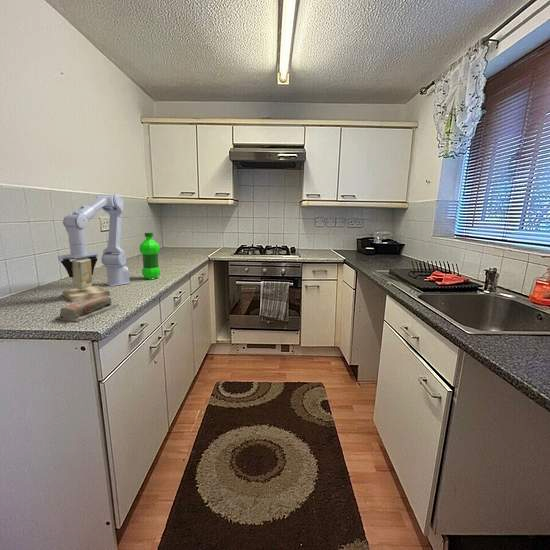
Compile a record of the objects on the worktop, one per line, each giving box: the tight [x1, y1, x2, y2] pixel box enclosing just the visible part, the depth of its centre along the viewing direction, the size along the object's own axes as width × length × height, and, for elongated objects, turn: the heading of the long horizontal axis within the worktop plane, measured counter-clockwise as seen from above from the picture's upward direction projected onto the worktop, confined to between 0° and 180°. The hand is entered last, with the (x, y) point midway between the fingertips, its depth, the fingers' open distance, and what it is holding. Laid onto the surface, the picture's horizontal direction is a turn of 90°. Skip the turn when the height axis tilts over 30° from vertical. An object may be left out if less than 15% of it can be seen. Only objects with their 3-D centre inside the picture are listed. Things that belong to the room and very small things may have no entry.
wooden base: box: [62, 285, 110, 303], centre depth 128 cm, size 14×14×2 cm
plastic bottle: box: [139, 232, 162, 280], centre depth 161 cm, size 10×10×25 cm
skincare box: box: [71, 258, 93, 290], centre depth 125 cm, size 6×4×12 cm
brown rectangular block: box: [54, 296, 120, 323], centre depth 106 cm, size 18×5×10 cm
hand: (81, 275), depth 126 cm, fingers closed on skincare box, 7 cm apart
